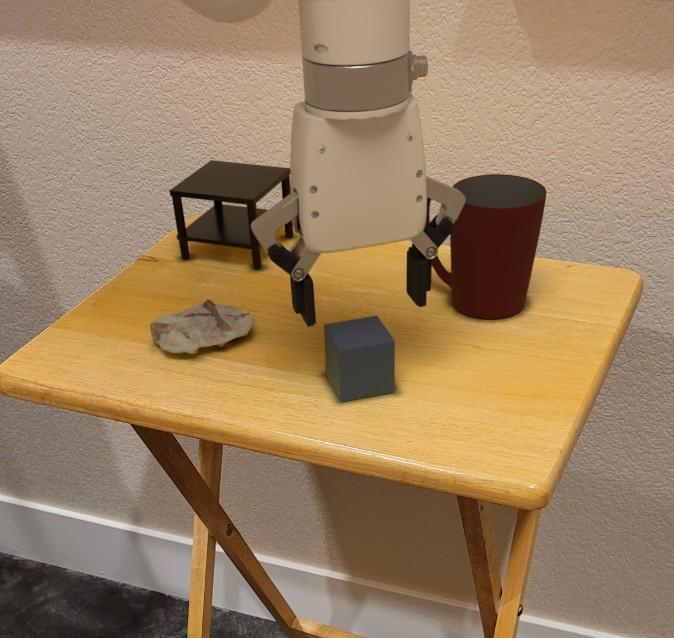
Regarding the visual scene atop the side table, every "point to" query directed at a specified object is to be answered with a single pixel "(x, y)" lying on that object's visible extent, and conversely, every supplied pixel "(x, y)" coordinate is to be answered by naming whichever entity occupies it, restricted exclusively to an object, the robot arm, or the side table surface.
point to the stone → (200, 327)
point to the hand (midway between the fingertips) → (362, 309)
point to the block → (359, 358)
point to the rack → (228, 220)
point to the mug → (493, 244)
